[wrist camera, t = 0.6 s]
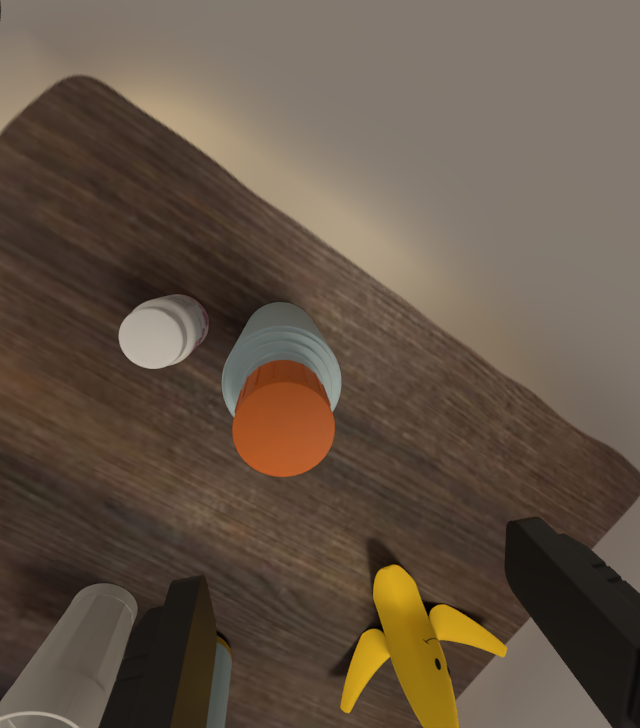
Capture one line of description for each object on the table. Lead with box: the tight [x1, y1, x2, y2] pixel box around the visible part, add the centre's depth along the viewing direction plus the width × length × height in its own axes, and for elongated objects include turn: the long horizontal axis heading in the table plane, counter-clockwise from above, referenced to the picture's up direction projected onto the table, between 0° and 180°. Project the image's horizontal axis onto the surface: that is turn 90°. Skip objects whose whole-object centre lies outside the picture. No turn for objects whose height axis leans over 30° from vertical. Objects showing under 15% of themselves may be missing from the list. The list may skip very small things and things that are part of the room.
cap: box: [232, 359, 335, 477], centre depth 17 cm, size 4×4×4 cm
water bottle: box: [222, 302, 341, 417], centre depth 25 cm, size 6×6×20 cm
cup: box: [0, 583, 138, 728], centre depth 33 cm, size 8×8×12 cm
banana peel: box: [340, 564, 507, 728], centre depth 35 cm, size 16×19×17 cm
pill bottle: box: [119, 294, 209, 369], centre depth 29 cm, size 5×5×8 cm
